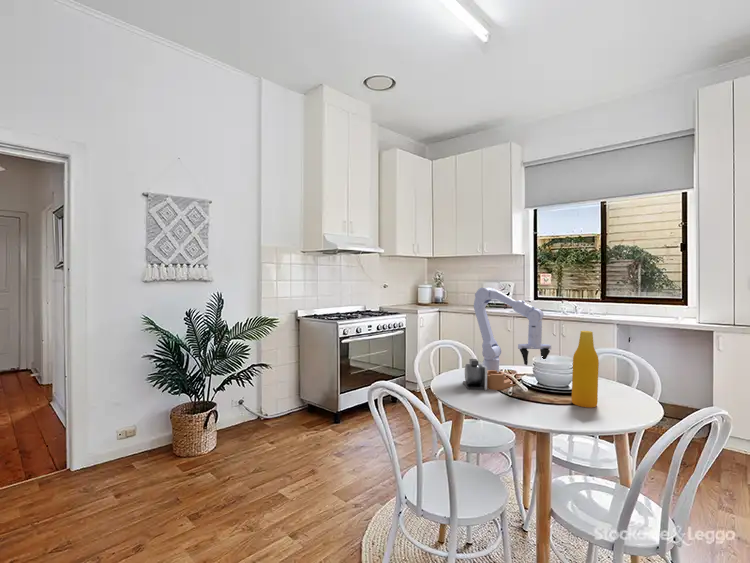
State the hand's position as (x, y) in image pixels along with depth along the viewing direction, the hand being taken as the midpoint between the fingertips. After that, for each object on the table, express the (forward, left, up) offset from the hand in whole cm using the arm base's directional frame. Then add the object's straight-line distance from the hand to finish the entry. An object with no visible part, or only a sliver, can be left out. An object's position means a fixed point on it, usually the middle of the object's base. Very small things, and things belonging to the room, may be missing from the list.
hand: (534, 364), depth 191 cm
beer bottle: (+26, +10, -10) cm, 29 cm away
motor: (+3, -28, -9) cm, 30 cm away
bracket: (+1, -16, -10) cm, 18 cm away
